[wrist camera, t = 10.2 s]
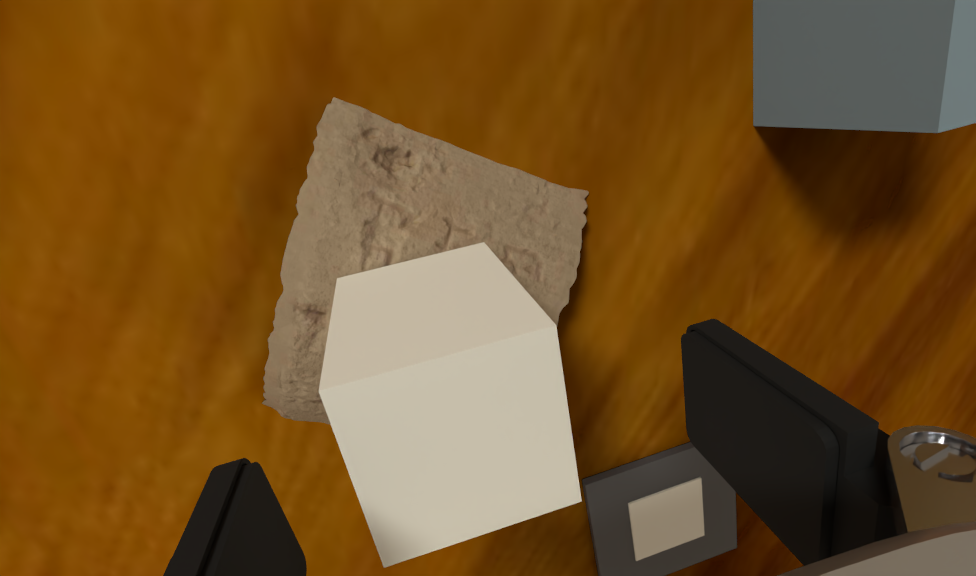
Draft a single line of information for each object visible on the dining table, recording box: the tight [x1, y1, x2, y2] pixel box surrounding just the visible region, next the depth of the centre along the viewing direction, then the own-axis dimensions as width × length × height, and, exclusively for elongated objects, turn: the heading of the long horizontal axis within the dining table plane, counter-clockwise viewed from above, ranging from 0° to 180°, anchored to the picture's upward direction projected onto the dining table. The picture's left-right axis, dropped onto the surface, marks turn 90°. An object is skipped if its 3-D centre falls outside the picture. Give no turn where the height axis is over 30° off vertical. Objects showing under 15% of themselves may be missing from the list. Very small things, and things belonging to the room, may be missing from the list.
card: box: [582, 442, 737, 576], centre depth 26 cm, size 8×8×1 cm
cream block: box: [319, 242, 582, 567], centre depth 14 cm, size 5×5×7 cm
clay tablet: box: [262, 98, 589, 424], centre depth 19 cm, size 14×10×3 cm
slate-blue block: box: [753, 0, 976, 133], centre depth 16 cm, size 5×5×7 cm
